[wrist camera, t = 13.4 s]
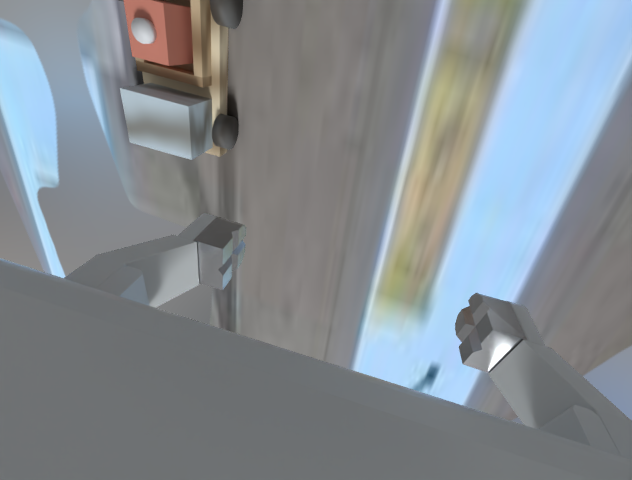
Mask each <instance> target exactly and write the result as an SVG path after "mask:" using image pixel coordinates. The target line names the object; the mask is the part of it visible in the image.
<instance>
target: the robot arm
mask: <svg viewBox="0 0 632 480" xmlns="http://www.w3.org/2000/svg"><path fill="white" fill-rule="evenodd" d="M245 236H246V226H245V225H243V224H240V223H237V222H234V221H231V220H227V219H224V218H221V217H217V216H214V215H211V214H208V213H203V214H201V215H200V216H199V217H198V218H197V219H196V220H195V221H194V222H192V223H191V224H190V225H189V226H188V227H187V228H186V229H185V230H183V231H182V232H181V233H180V234H179V235H178V236H176V235H171V236H167V237H163V238H159V239H155V240H152V241H148V242H144V243H140V244H137V245H132V246H129V247H125V248H121V249H117V250H114V251H110V252H106V253H102V254H98V255H96V256H94V257H93V258H92V259H90V260H89V261H87V262H86V263H85V264H83V265H82V266H80V267H79V268H78V269H76V270H75V271H73V272H72V273H71V274H69V275H68V276H66V277H65V278H61V277H57V276H54V275H51V274H48V273H45V272H41V271H38V270H35V269H32V268H29V267H26V266H23V265H20V264H17V263H13V262H10V261H7V260H4V259H1V258H0V480H632V421H631V420H630V419H629V418H628V417H627V416H626V415H625V414H624V413H622V412H621V411H620V410H619V409H618V408H617V407H616V406H615V405H614V404H613V403H611V402H610V401H609V400H608V399H607V398H606V397H605V396H604V395H603V394H601V393H600V392H599V391H598V390H597V389H596V388H595V387H593V386H592V385H591V384H590V383H589V382H588V381H587V380H586V379H585V378H584V377H583V376H582V375H580V374H579V373H578V372H577V371H576V370H575V369H574V368H573V367H572V366H570V365H569V364H568V363H567V362H566V361H565V360H564V359H563V358H562V357H561V356H559V355H558V354H557V353H556V352H555V351H554V350H553V349H552V348H550V347H547V346H545V344H544V342H543V340H542V338H541V336H540V334H539V332H538V330H537V328H536V326H535V324H534V322H533V320H532V318H531V316H530V314H529V312H528V310H527V308H526V307H524V306H523V305H520V304H516V303H512V302H509V301H503V300H500V299H496V298H493V297H489V296H486V295H482V294H479V293H475V294H474V295H472V296H471V298H470V299H469V300H468V301H469V305H470V306H469V307H466V308H464V309H462V310H461V311H460V313H459V314H458V316H457V320H456V323H455V330H456V336H457V337H458V338H459V339H460V340H461V342H462V343H461V345H460V346H459V350H460V354H461V359H462V363H463V364H464V365H467V366H470V367H473V368H476V369H479V370H482V371H485V372H488V373H489V376H490V377H491V379H492V380H493V381H494V383H495V384H496V386H497V387H498V389H499V390H500V391H501V393H502V394H503V396H504V397H505V399H506V400H507V401H508V403H509V404H510V406H511V407H512V409H513V410H514V412H515V413H516V414H517V416H518V417H519V419H520V420H521V422H522V423H523V424H524V425H522V424H519V423H516V422H513V421H510V420H507V419H504V418H500V417H497V416H494V415H491V414H488V413H485V412H481V411H478V410H475V409H472V408H469V407H466V406H463V405H460V404H456V403H453V402H450V401H447V400H444V399H441V398H438V397H434V396H431V395H428V394H425V393H422V392H419V391H416V390H413V389H409V388H406V387H403V386H400V385H397V384H394V383H391V382H387V381H384V380H381V379H378V378H375V377H372V376H369V375H365V374H362V373H359V372H356V371H353V370H350V369H347V368H343V367H340V366H337V365H334V364H331V363H328V362H325V361H321V360H318V359H315V358H312V357H309V356H306V355H303V354H299V353H296V352H293V351H290V350H287V349H284V348H281V347H277V346H274V345H271V344H268V343H265V342H262V341H259V340H255V339H252V338H249V337H246V336H243V335H240V334H237V333H233V332H230V331H227V330H224V329H221V328H218V327H215V326H211V325H208V324H205V323H202V322H199V321H196V320H192V319H189V318H186V317H183V316H180V315H177V314H173V313H170V312H167V311H164V310H161V309H158V308H156V307H157V306H159V305H161V304H163V303H165V302H167V301H169V300H171V299H173V298H175V297H177V296H178V295H180V294H182V293H184V292H186V291H188V290H190V289H192V288H194V287H196V286H197V285H199V283H200V284H203V285H207V286H210V287H214V288H217V289H221V290H223V289H224V287H225V286H226V285H227V283H228V282H229V280H230V279H231V277H232V271H234V270H236V269H238V267H239V266H240V264H241V262H242V259H243V257H244V253H245V243H244V242H243V239H244V237H245Z"/></svg>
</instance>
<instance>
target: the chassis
mask: <svg viewBox="0 0 632 480" xmlns="http://www.w3.org/2000/svg"><path fill="white" fill-rule="evenodd" d="M120 1H124V0H120ZM162 1H167V2H171V3H175V4H179V5H183V6H187V7H191V23H192V44H193V63H191V64H182V65H173V66H167V65H163V64H160V63H156V62H152V61H148V60H144V59H140V58H136V57H135V58H136V65H137V70H138V71H142V74H143V82H144V84H141V85H135V86H129V87H123V88H120V91H121V96H122V102H123V107H124V113H125V118H126V124H127V129H128V134H129V140H130V143H134V144H137V145H141V146H145V147H148V148H152V149H155V150H159V151H162V152H166V153H169V154H173V155H176V156H180V157H184V158H187V159H191V160H192V159H194V158H196V157H197V156H199V155H201V154H202V153H204V152H205V153H209V154H212V155H216V156H219V157H220V156H222V155H223V154H225V153H226V152H227V149H229V150H230V149H232V148H233V147H234V145H235V143H236V140H237V137H238V122H237V119H236V118H235V117H232V116H228V115H227V91H228V27H229V28H233V29H235V28H237V27H238V25H239V23H240V21H241V17H242V10H243V0H162Z"/></svg>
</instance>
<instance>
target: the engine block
mask: <svg viewBox="0 0 632 480" xmlns="http://www.w3.org/2000/svg"><path fill="white" fill-rule="evenodd" d="M124 5H125V11H126V18H127V25H128V31H129V38H130V44H131V51H132V56H133V57H136V58H140V59H144V60H148V61H152V62H156V63H160V64H163V65H167V66H173V65H182V64H191V63H193V44H192V23H191V7H187V6H183V5H179V4H175V3H171V2H167V1H162V0H124Z"/></svg>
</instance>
